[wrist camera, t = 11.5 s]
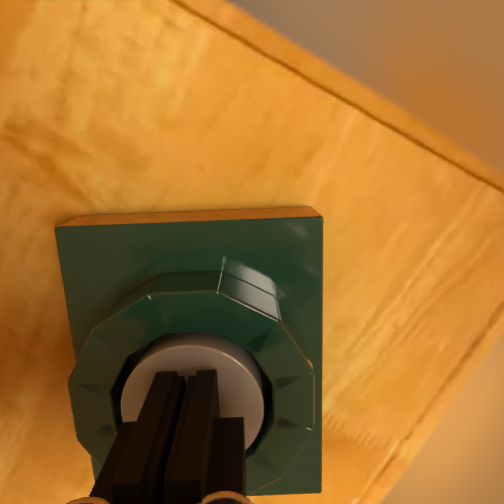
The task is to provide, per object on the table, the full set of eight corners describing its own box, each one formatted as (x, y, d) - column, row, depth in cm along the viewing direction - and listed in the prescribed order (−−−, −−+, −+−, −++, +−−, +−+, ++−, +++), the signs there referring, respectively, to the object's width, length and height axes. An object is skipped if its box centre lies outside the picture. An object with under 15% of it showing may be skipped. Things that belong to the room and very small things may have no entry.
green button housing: (82, 215, 14) (20, 240, 10) (312, 206, 14) (336, 227, 10) (116, 457, 17) (77, 552, 13) (312, 449, 17) (332, 541, 13)
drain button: (130, 321, 13) (111, 348, 11) (259, 316, 13) (261, 342, 11) (143, 433, 13) (128, 473, 12) (263, 428, 14) (266, 468, 12)
